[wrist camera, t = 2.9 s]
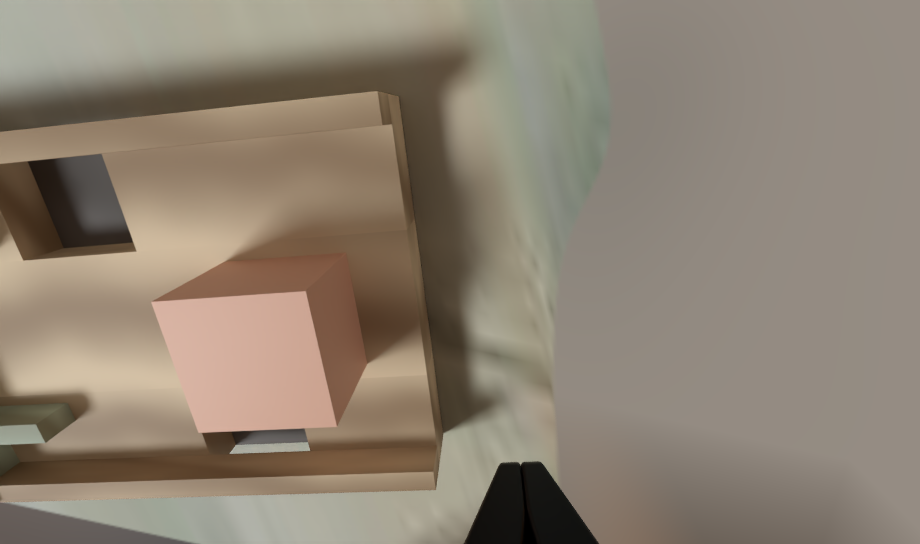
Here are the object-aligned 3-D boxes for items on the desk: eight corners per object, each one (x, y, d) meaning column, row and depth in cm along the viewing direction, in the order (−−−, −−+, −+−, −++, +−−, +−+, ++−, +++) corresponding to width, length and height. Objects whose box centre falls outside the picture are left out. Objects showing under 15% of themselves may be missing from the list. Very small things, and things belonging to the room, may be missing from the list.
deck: (443, 433, 22) (434, 499, 18) (48, 449, 24) (-34, 512, 20) (398, 96, 17) (373, 90, 13) (-105, 150, 18) (-257, 158, 15)
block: (367, 364, 18) (337, 426, 15) (256, 369, 19) (198, 432, 15) (346, 252, 17) (305, 291, 13) (224, 261, 17) (150, 301, 13)
